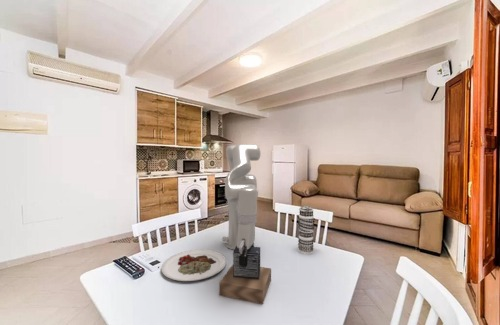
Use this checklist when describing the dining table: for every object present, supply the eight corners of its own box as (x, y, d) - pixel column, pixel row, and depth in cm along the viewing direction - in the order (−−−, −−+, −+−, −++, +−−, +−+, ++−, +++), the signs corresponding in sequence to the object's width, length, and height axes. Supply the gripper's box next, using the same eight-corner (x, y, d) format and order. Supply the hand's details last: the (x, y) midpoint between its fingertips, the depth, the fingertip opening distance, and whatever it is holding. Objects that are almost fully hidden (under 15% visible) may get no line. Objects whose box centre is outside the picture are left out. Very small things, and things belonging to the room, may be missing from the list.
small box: (260, 271, 90) (261, 246, 90) (259, 279, 84) (259, 253, 84) (236, 269, 92) (236, 244, 92) (232, 277, 85) (232, 251, 85)
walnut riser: (219, 295, 82) (219, 282, 82) (233, 273, 97) (234, 262, 97) (262, 303, 77) (263, 290, 77) (271, 279, 93) (271, 268, 93)
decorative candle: (306, 255, 116) (307, 209, 116) (294, 249, 124) (294, 206, 124) (317, 251, 121) (318, 207, 121) (305, 246, 129) (305, 204, 129)
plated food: (212, 289, 86) (212, 280, 86) (146, 279, 92) (146, 272, 92) (233, 256, 116) (233, 249, 116) (182, 250, 122) (182, 244, 122)
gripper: (245, 211, 96) (244, 249, 97) (231, 223, 80) (230, 268, 80) (261, 213, 94) (260, 251, 95) (250, 225, 78) (249, 272, 78)
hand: (246, 259), depth 88 cm, fingers open, 9 cm apart
